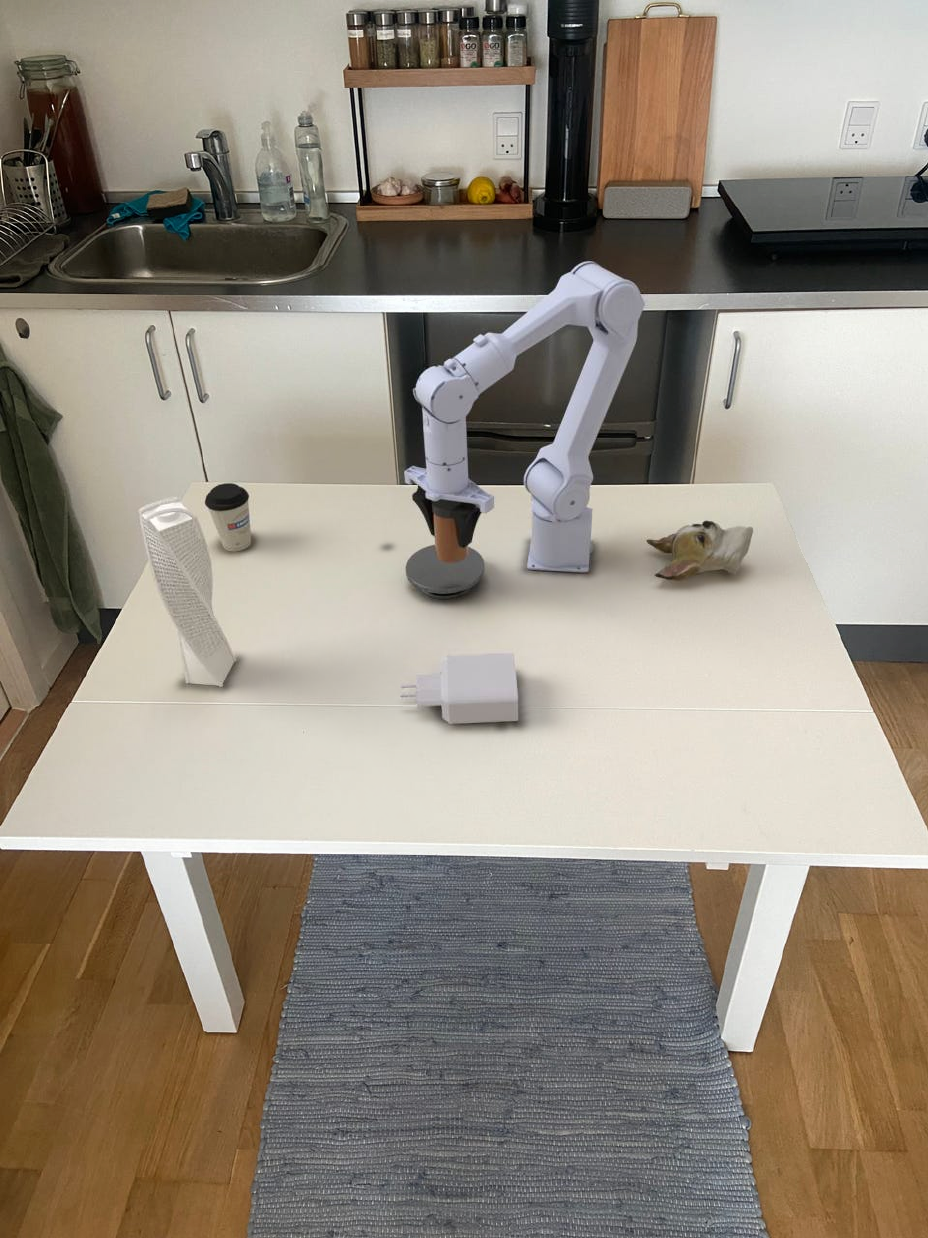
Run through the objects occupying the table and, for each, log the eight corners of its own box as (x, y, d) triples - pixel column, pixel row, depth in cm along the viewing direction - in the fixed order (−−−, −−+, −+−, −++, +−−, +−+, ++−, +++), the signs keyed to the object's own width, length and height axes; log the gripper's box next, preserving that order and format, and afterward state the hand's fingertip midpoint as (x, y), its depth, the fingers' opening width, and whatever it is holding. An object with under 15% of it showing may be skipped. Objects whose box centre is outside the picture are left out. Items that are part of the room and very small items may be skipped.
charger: (403, 680, 126) (514, 675, 126) (401, 729, 119) (518, 724, 119) (400, 654, 123) (513, 649, 123) (398, 703, 116) (518, 697, 116)
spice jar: (470, 544, 139) (468, 492, 133) (466, 563, 135) (464, 510, 130) (438, 543, 140) (434, 491, 134) (433, 562, 136) (429, 509, 130)
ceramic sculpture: (762, 538, 134) (656, 545, 135) (756, 587, 139) (654, 593, 140) (746, 499, 142) (646, 506, 143) (741, 546, 147) (645, 553, 148)
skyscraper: (226, 695, 125) (178, 518, 108) (174, 690, 127) (118, 515, 109) (246, 656, 132) (203, 483, 114) (196, 652, 133) (146, 480, 115)
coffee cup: (207, 545, 154) (193, 493, 147) (240, 526, 158) (229, 475, 151) (233, 560, 150) (220, 507, 144) (267, 541, 154) (256, 488, 148)
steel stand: (489, 560, 147) (489, 545, 145) (479, 608, 138) (479, 591, 136) (415, 556, 149) (413, 541, 147) (400, 603, 140) (398, 587, 138)
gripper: (387, 452, 128) (395, 534, 137) (470, 483, 121) (474, 568, 130) (420, 432, 133) (426, 513, 141) (502, 460, 125) (504, 544, 134)
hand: (451, 538), depth 136 cm, fingers closed on spice jar, 5 cm apart
